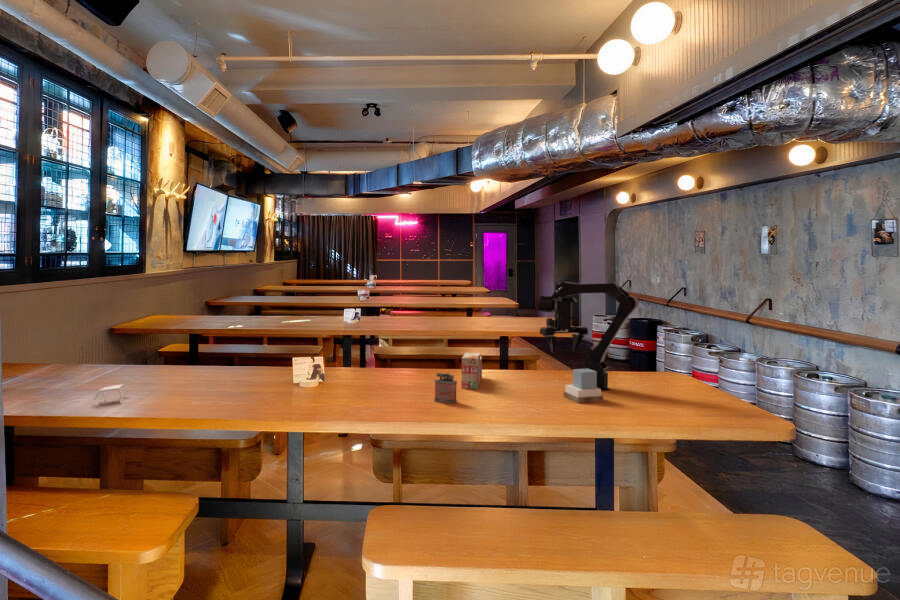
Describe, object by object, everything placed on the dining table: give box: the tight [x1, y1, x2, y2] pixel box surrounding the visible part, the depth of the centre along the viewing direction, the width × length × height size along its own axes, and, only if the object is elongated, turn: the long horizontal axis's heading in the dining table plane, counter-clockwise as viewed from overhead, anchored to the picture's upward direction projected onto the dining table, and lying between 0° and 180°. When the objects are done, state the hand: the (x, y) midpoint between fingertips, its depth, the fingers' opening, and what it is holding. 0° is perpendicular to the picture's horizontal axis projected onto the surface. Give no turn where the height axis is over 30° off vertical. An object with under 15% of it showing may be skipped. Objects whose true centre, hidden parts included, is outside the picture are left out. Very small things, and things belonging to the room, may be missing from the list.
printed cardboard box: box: [460, 352, 483, 390], centre depth 216 cm, size 21×6×12 cm, turn 172°
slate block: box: [572, 368, 597, 390], centre depth 191 cm, size 6×6×6 cm
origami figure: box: [93, 383, 131, 405], centre depth 183 cm, size 12×8×5 cm
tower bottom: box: [563, 390, 604, 404], centre depth 192 cm, size 10×10×2 cm
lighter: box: [433, 372, 458, 404], centre depth 186 cm, size 8×3×10 cm, turn 71°
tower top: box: [564, 384, 602, 398], centre depth 191 cm, size 9×9×2 cm
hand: (563, 352), depth 214 cm, fingers open, 9 cm apart
